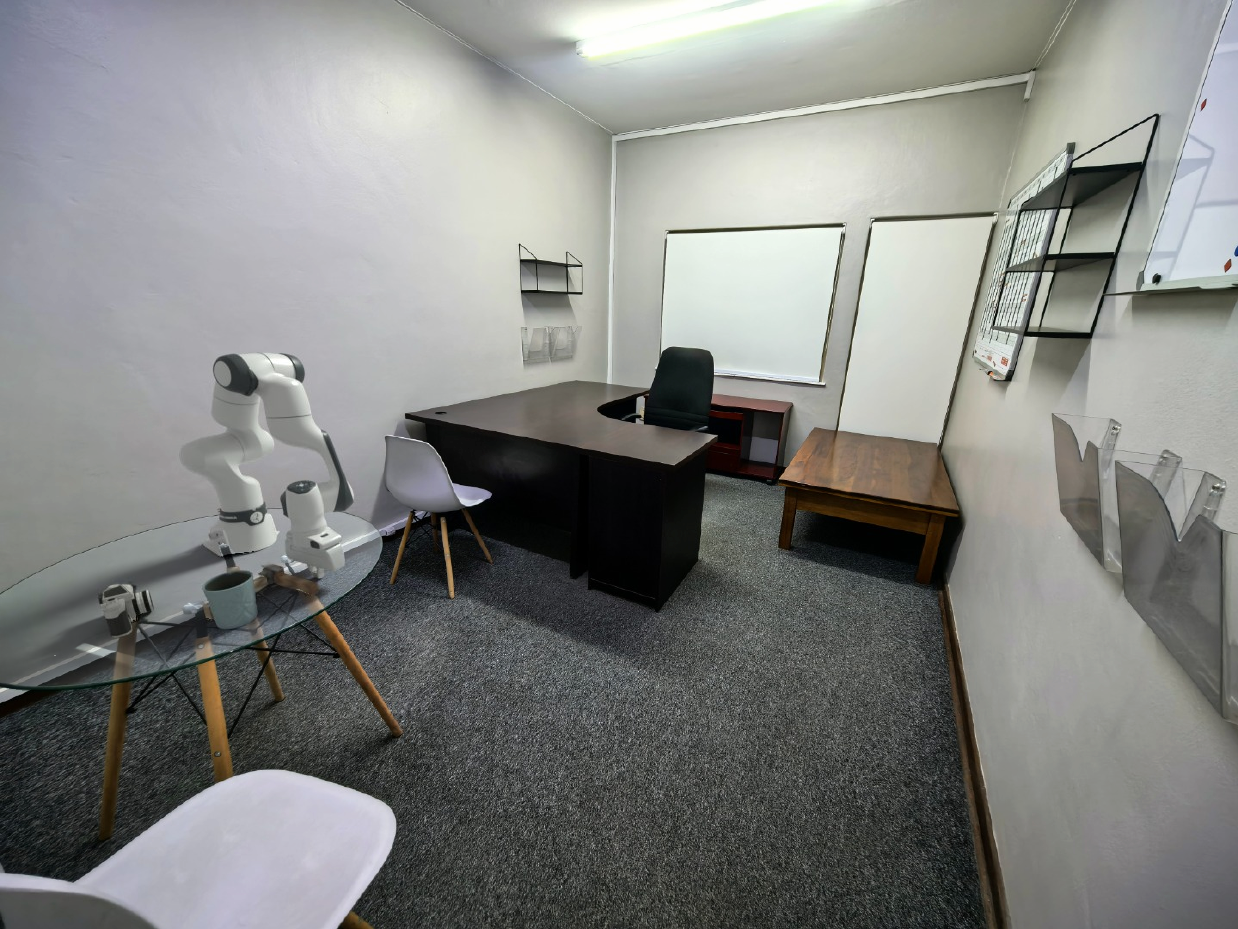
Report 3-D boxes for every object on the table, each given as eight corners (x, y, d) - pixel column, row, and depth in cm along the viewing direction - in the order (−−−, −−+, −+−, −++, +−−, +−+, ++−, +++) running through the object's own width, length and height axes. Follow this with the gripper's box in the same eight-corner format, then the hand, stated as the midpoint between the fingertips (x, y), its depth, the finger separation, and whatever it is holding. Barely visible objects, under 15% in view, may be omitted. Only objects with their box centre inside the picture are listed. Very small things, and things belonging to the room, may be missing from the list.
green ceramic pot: (256, 604, 128) (247, 566, 124) (266, 619, 121) (257, 580, 118) (209, 620, 120) (198, 580, 117) (216, 637, 114) (205, 595, 110)
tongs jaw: (264, 583, 137) (260, 565, 135) (271, 580, 139) (267, 562, 137) (313, 598, 130) (309, 579, 129) (319, 594, 132) (316, 576, 130)
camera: (156, 626, 117) (146, 592, 114) (107, 642, 111) (95, 607, 108) (153, 600, 128) (143, 569, 125) (107, 613, 121) (96, 581, 119)
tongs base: (274, 580, 139) (271, 564, 138) (283, 582, 138) (280, 565, 137) (203, 618, 121) (199, 600, 119) (214, 620, 120) (209, 602, 118)
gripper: (275, 533, 134) (283, 574, 138) (325, 546, 128) (333, 589, 132) (296, 525, 140) (303, 565, 144) (345, 537, 133) (352, 578, 137)
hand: (318, 576), depth 138 cm, fingers closed
